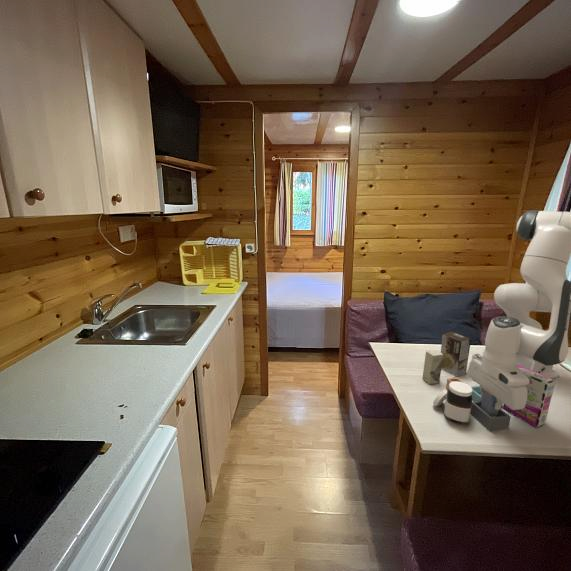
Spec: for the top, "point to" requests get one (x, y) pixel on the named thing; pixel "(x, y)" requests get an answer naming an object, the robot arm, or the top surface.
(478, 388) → the trough
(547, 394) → the candy bar box
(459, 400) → the spread jar
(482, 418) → the box
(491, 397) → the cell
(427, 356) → the box
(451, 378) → the cup
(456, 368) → the coffee box
